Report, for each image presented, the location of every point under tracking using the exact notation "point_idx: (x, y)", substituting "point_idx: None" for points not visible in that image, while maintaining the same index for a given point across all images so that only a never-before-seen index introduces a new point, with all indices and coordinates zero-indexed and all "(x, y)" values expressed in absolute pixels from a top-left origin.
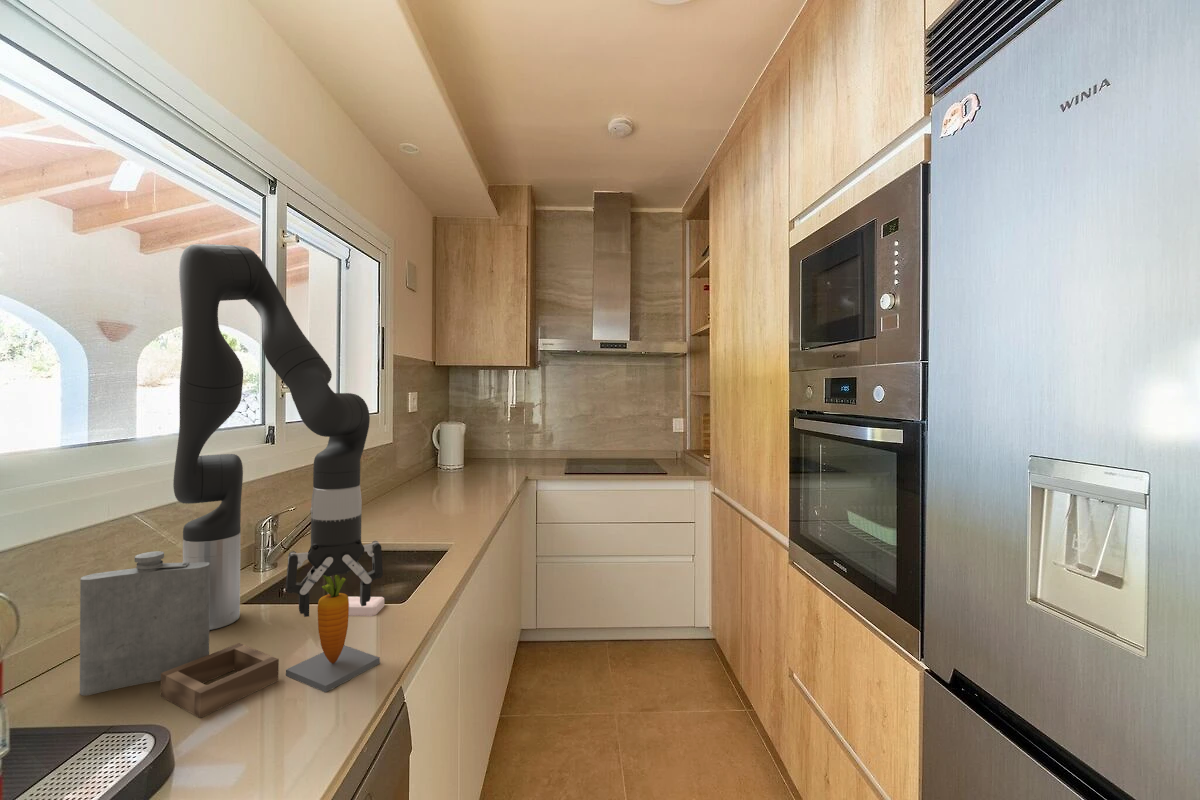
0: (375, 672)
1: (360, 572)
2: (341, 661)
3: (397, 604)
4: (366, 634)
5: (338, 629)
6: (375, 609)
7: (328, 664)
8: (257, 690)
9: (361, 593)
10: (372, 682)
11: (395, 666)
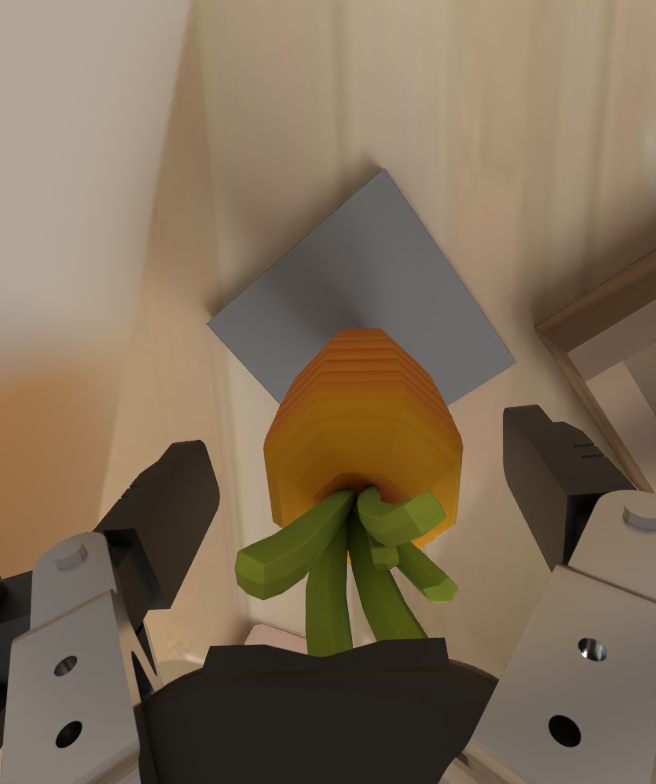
0: (221, 257)
1: (58, 619)
2: None
3: (198, 658)
4: (271, 524)
5: (335, 341)
6: (250, 640)
7: None
8: (602, 284)
9: (179, 505)
10: (224, 181)
11: (157, 274)
